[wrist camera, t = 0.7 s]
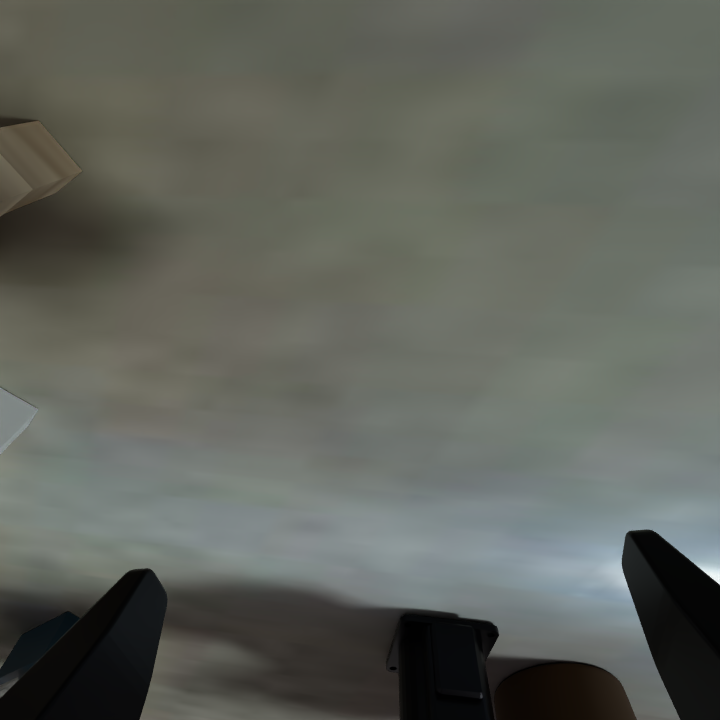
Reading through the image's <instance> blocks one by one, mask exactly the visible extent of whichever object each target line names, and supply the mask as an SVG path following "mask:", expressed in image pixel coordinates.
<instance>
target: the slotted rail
mask: <svg viewBox="0 0 720 720" xmlns="http://www.w3.org/2000/svg"><path fill="white" fill-rule="evenodd" d="M37 411H38V409H37V408H36V407H34V406H32V405H30V404H28V403H27V402H25V401H23V400H21V399H20V398H18V397H16V396H14V395H12V394H11V393H9V392H7V391H5V390H4V389H2V388H0V454H1V453H2V452H3V451H4V450H5V449H6V448H7V447H8V446H9V445H10V444H11V443H12V442H13V441H14V440H15V439H16V438H17V437H18V436H19V435H20V434H21V433H22V432H23V431H24V430H25V429H26V428H27V427H28V425H29V423H30V422H31V420H32V419H33V417H34V416H35V414H36V412H37Z"/></svg>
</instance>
